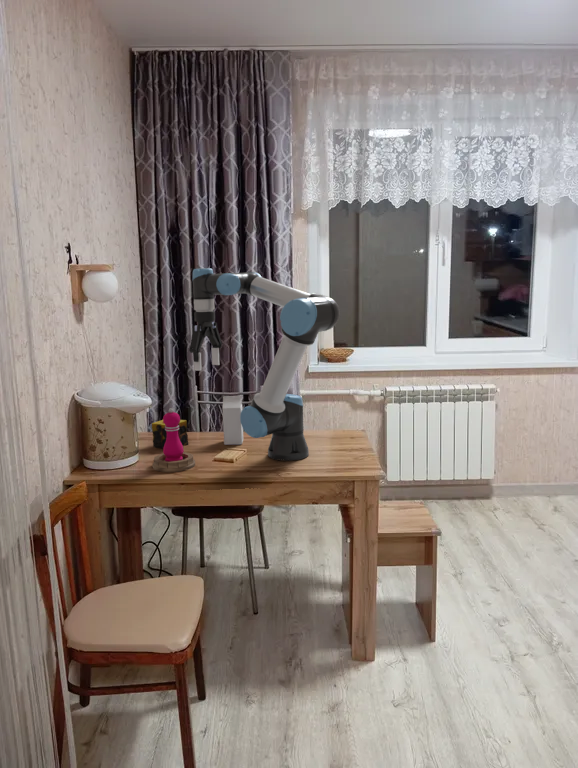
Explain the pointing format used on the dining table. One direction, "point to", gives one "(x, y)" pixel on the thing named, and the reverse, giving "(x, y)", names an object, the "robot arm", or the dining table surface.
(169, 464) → the grey brown stone ring
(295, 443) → the robot arm
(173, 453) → the pepper mill
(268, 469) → the dining table surface
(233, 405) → the milk carton
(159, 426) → the black yellow cube
